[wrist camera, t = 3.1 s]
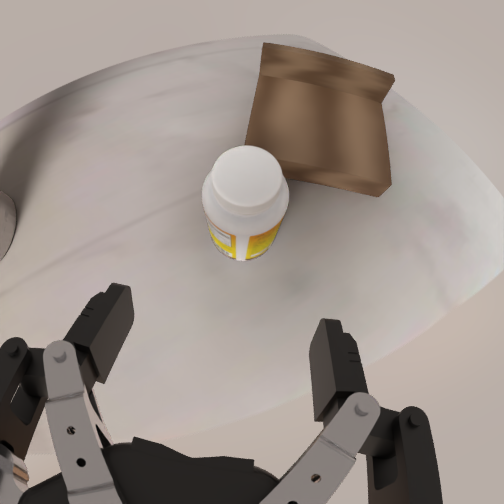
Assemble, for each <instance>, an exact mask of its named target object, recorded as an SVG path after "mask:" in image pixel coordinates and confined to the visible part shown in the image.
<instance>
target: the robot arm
mask: <svg viewBox="0 0 504 504" xmlns="http://www.w3.org/2000/svg"><path fill="white" fill-rule="evenodd" d="M15 225H16V209H15V205H14V202H13V200H12V199H11V198H10V197H9V196H8V195H6V194H5V193H3V192H2V191H1V190H0V260H1V259H2V258H3V257H4V255H5V253H6V252H7V250H8V248H9V246H10V244H11V241H12V238H13V235H14V231H15ZM133 321H134V308H133V302H132V295H131V289H130V287H129V286H126V285H122V284H117V283H112V284H111V285H110V286H109V288H108V289H107V291H106V292H105V293H103V292H100V293H98V294H97V295H95V296H94V297H92V298H91V299H90V301H89V302H88V304H87V305H86V306H85V308H84V309H83V311H82V312H81V315H79V317H78V318H77V319H76V321H75V322H74V324H73V325H72V327H71V328H70V330H69V331H68V333H67V335H66V336H65V338H64V339H63V340H59V341H55V342H52V343H51V344H49V345H48V346H47V347H46V349H42V348H29V347H28V346H27V344H26V342H25V341H24V340H23V339H22V338H19V337H14V338H10V339H8V340H7V341H6V342H5V343H4V344H3V345H2V346H1V348H0V504H326V503H327V501H328V500H329V499H330V498H331V496H332V495H333V494H334V492H335V491H336V490H337V488H338V487H339V485H340V484H341V483H342V481H343V480H344V478H345V477H346V476H347V474H348V473H349V471H350V470H351V468H352V467H353V465H354V464H355V461H356V458H355V456H356V454H357V453H361V454H365V455H366V460H367V476H368V502H369V504H443V501H442V492H441V485H440V478H439V471H438V465H437V459H436V454H435V448H434V443H433V439H432V434H431V430H430V425H429V421H428V418H427V416H426V414H425V413H424V412H423V411H422V410H421V409H420V408H417V407H414V406H409V407H406V408H404V409H403V410H402V411H401V412H397V411H393V410H389V409H385V408H383V407H380V406H379V403H378V402H377V400H376V399H375V398H374V397H373V396H371V395H369V393H368V389H367V385H366V380H365V376H364V371H363V367H362V363H361V359H360V355H359V351H358V347H357V343H356V341H355V340H354V339H353V337H352V336H351V335H350V333H343V329H342V325H341V322H340V320H334V319H325V318H322V319H321V320H320V322H319V325H318V327H317V330H316V332H315V335H314V337H313V339H312V342H311V345H310V350H309V359H310V370H311V381H312V394H313V406H314V421H318V422H323V425H324V429H323V430H322V431H321V432H320V434H319V435H318V436H317V437H316V439H315V440H314V441H313V442H312V444H311V445H310V446H309V447H308V448H307V450H306V451H305V452H304V453H303V454H302V455H301V457H300V458H299V459H298V460H297V461H296V462H295V463H294V464H293V466H291V468H290V469H289V470H288V471H287V472H286V473H285V474H284V475H283V476H282V477H281V478H280V479H277V478H276V477H275V476H274V475H272V474H271V473H269V472H267V471H266V470H263V469H261V468H259V467H256V466H254V460H253V459H243V458H242V459H241V458H233V457H225V456H220V457H204V458H191V457H188V456H186V455H183V454H181V453H179V452H176V451H175V450H173V449H171V448H169V447H166V446H164V445H162V444H159V443H155V442H151V441H148V440H144V439H141V438H137V437H134V438H133V441H132V443H129V442H128V443H118V444H114V443H113V441H112V438H111V436H110V434H109V432H108V430H107V428H106V426H105V423H104V420H103V418H102V415H101V412H100V409H99V406H98V402H97V399H96V396H95V393H94V390H93V386H94V384H95V382H96V381H97V382H100V383H103V384H105V381H106V379H107V377H108V375H109V373H110V371H111V368H112V366H113V364H114V362H115V360H116V358H117V356H118V354H119V351H120V349H121V347H122V345H123V343H124V341H125V339H126V337H127V335H128V333H129V331H130V329H131V327H132V325H133ZM18 386H19V387H18ZM17 388H18V389H17ZM16 390H17V391H16ZM15 392H16V394H15ZM14 394H15V396H14ZM13 396H14V398H13ZM12 398H13V400H12ZM48 398H49V400H48ZM11 400H12V402H11ZM44 407H45V409H46V414H47V419H48V424H49V428H50V433H51V437H52V441H53V445H54V448H55V452H56V456H57V459H58V462H59V466H60V469H61V473H59V474H57V475H55V476H53V477H51V478H49V479H47V480H45V481H43V482H41V483H39V484H37V485H35V486H33V487H31V488H28V485H27V482H28V481H29V475H28V471H27V467H26V465H25V463H24V460H25V456H26V454H27V451H28V448H29V445H30V442H31V440H32V437H33V434H34V432H35V429H36V426H37V424H38V421H39V419H40V416H41V414H42V411H43V409H44Z"/></svg>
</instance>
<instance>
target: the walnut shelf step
mask: <svg viewBox="0 0 504 504" xmlns="http://www.w3.org/2000/svg"><path fill="white" fill-rule="evenodd" d="M394 81H395V78H394V75H393V74H390V73H387V72H384V71H381V70H379V69H376V68H372V67H369V66H366V65H363V64H360V63H357V62H354V61H350V60H347V59H343V58H339V57H336V56H332V55H328V54H324V53H319V52H315V51H310V50H306V49H301V48H295V47H290V46H284V45H278V44H271V43H263V47H262V55H261V64H260V73H259V78H258V83H257V88H256V92H255V97H254V102H253V106H252V111H251V116H250V121H249V125H248V130H247V135H246V140H245V145H249V146H255V147H259V148H262V149H264V150H266V151H267V152H269V153H270V154H272V155H273V156H274V157H275V159H276V160H277V161H278V163H279V165H280V167H281V170H282V174H283V176H284V178H288V179H294V180H299V181H305V182H310V183H315V184H320V185H325V186H330V187H335V188H339V189H344V190H348V191H353V192H357V193H362V194H366V195H370V196H374V197H379V196H380V195H382V194H383V193H384V192H385V191H386V190H387V189H388V188H389V187H390V186H391V185H392V182H391V170H390V160H389V151H388V143H387V136H386V129H385V122H384V116H383V110H382V104H381V103H382V101H383V100H384V98H385V96H386V95H387V93H388V91H389V90H390V88H391V86H392V85H393V83H394Z"/></svg>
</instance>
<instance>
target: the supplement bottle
mask: <svg viewBox="0 0 504 504" xmlns="http://www.w3.org/2000/svg"><path fill="white" fill-rule="evenodd" d="M288 203H289V188H288V185H287V182H286V180H285V178H284V176H283V174H282V170H281V167H280V165H279V163H278V161H277V160H276V159H275V157H274V156H273V155H272V154H270V153H269V152H267V151H266V150H264V149H262V148H259V147H255V146H249V145H244V146H237V147H234V148H231V149H229V150H227V151H225V152H224V153H223V154H222V155H221V156H220V157H219V158H218V159H217V160H216V162H215V164H214V166H213V169H212V170H211V171H210V172H209V174H208V175H207V177H206V179H205V181H204V184H203V187H202V204H203V208H204V212H205V216H206V219H207V223H208V227H209V231H210V234H211V238H212V240H213V243H214V245H215V246H216V248H217V249H218V250H219V251H220V252H221V253H222V254H223V255H225V256H226V257H228V258H230V259H233V260H237V261H248V260H253V259H256V258H258V257H260V256H261V255H263V254H264V253H265V252H266V251H267V250H268V249H269V248H270V246H271V245H272V243H273V240H274V238H275V236H276V233H277V231H278V229H279V226H280V224H281V222H282V219H283V217H284V215H285V213H286V210H287V207H288Z"/></svg>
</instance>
